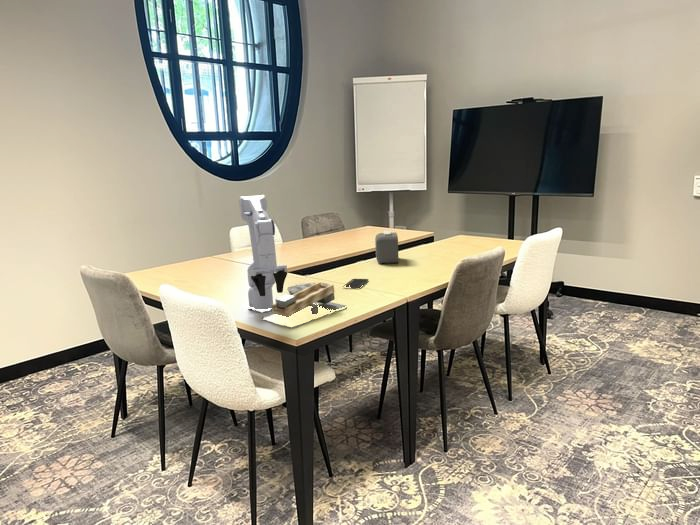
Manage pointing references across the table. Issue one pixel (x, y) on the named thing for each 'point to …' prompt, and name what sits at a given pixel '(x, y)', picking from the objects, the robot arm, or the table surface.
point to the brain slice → (301, 287)
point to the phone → (356, 283)
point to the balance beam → (307, 299)
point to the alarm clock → (387, 247)
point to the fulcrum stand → (326, 306)
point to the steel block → (285, 301)
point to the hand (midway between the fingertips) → (271, 294)
